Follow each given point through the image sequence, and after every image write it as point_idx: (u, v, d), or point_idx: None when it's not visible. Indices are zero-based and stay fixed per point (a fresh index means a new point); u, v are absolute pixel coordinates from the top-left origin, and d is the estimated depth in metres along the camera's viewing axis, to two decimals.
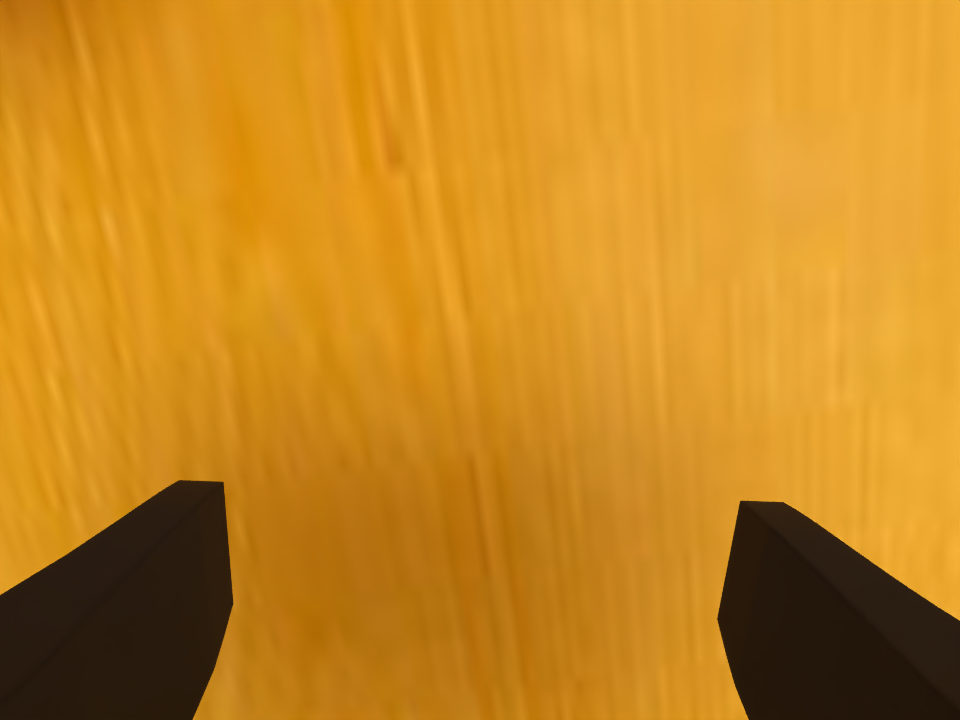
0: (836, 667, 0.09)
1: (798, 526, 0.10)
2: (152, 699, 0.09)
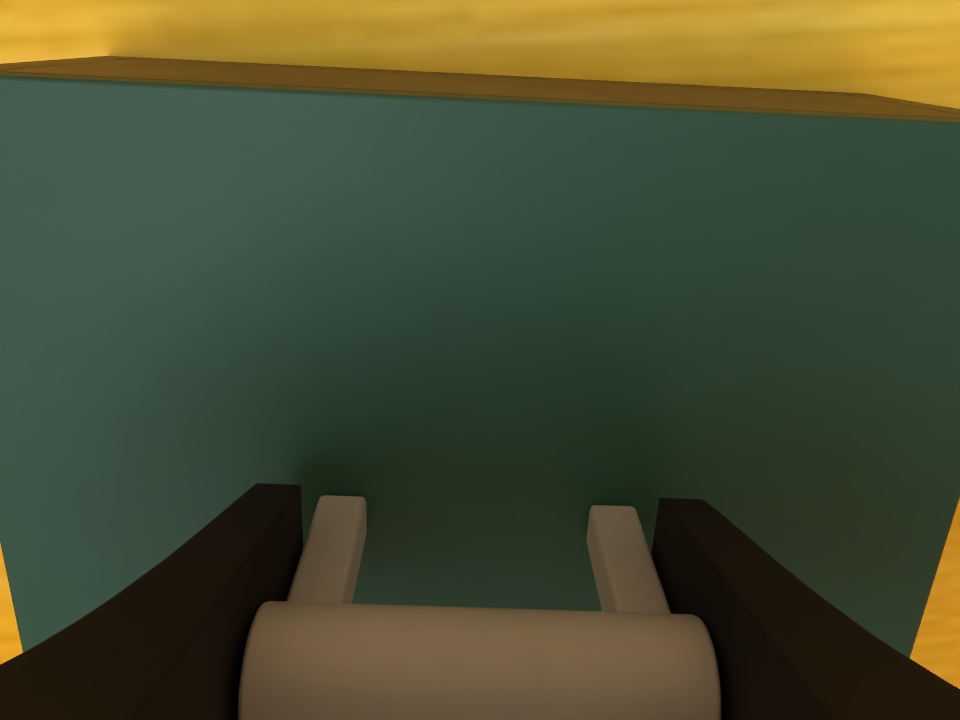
0: (731, 664, 0.08)
1: (709, 523, 0.10)
2: None
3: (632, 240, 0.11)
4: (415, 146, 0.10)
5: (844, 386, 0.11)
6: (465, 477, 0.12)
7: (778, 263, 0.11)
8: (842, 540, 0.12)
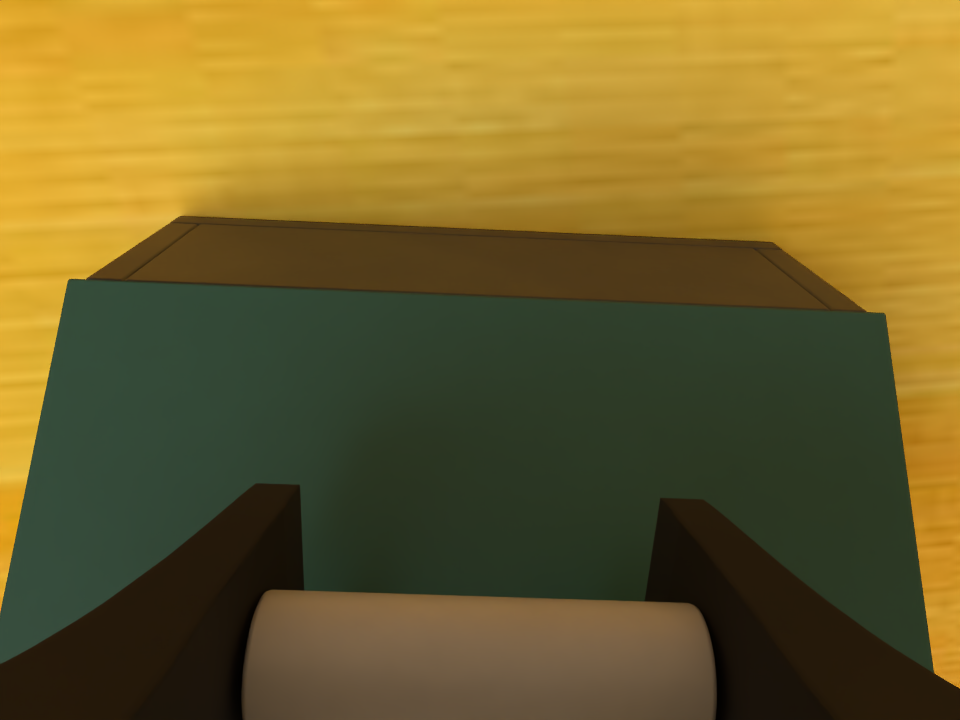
0: (732, 664, 0.08)
1: (710, 523, 0.10)
2: None
3: (587, 390, 0.14)
4: (422, 324, 0.14)
5: (785, 513, 0.13)
6: None
7: (702, 407, 0.14)
8: None
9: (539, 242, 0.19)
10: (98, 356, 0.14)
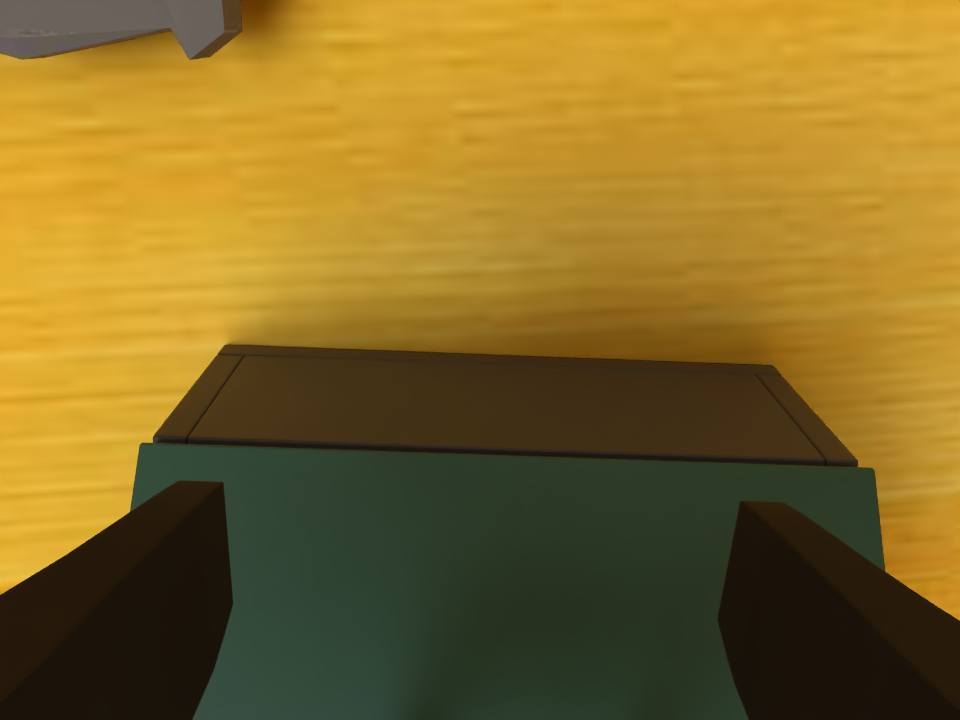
0: (836, 667, 0.09)
1: (798, 526, 0.10)
2: (152, 699, 0.09)
3: (605, 545, 0.15)
4: (458, 484, 0.16)
5: None
6: None
7: (709, 561, 0.15)
8: None
9: (557, 372, 0.20)
10: None
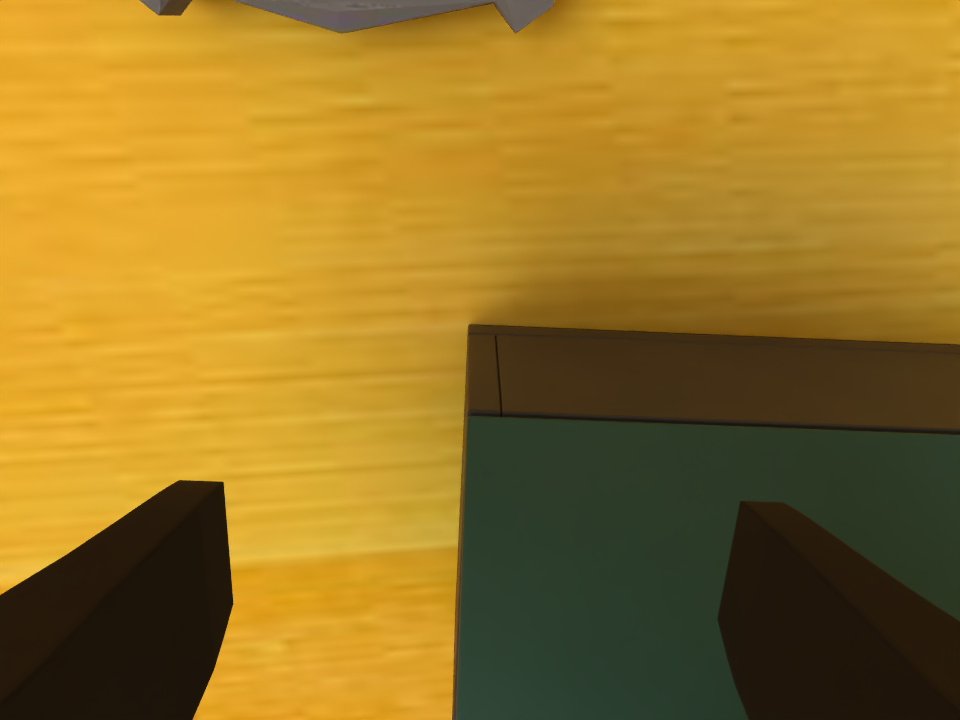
0: (836, 667, 0.09)
1: (798, 526, 0.10)
2: (152, 699, 0.09)
3: (937, 519, 0.16)
4: (785, 458, 0.16)
5: None
6: None
7: None
8: None
9: (811, 352, 0.20)
10: (505, 489, 0.15)
